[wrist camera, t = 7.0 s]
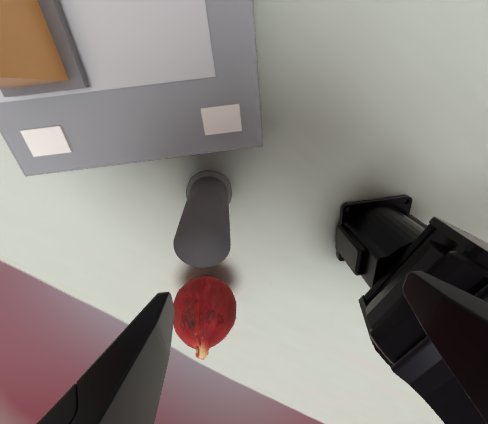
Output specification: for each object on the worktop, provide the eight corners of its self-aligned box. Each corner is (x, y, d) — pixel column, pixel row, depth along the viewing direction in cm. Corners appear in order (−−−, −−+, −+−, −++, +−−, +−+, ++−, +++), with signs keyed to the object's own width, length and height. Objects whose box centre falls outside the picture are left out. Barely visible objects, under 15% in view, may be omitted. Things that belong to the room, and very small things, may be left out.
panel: (235, -139, 12) (238, -206, 10) (257, 138, 19) (263, 146, 16) (-79, -106, 12) (-172, -166, 9) (53, 163, 19) (23, 177, 16)
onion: (169, 269, 24) (147, 344, 17) (221, 251, 24) (221, 321, 17) (194, 306, 27) (183, 384, 20) (242, 291, 26) (249, 365, 19)
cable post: (228, 167, 20) (231, 211, 13) (234, 208, 22) (239, 266, 15) (182, 173, 20) (160, 221, 13) (192, 213, 22) (177, 275, 14)
